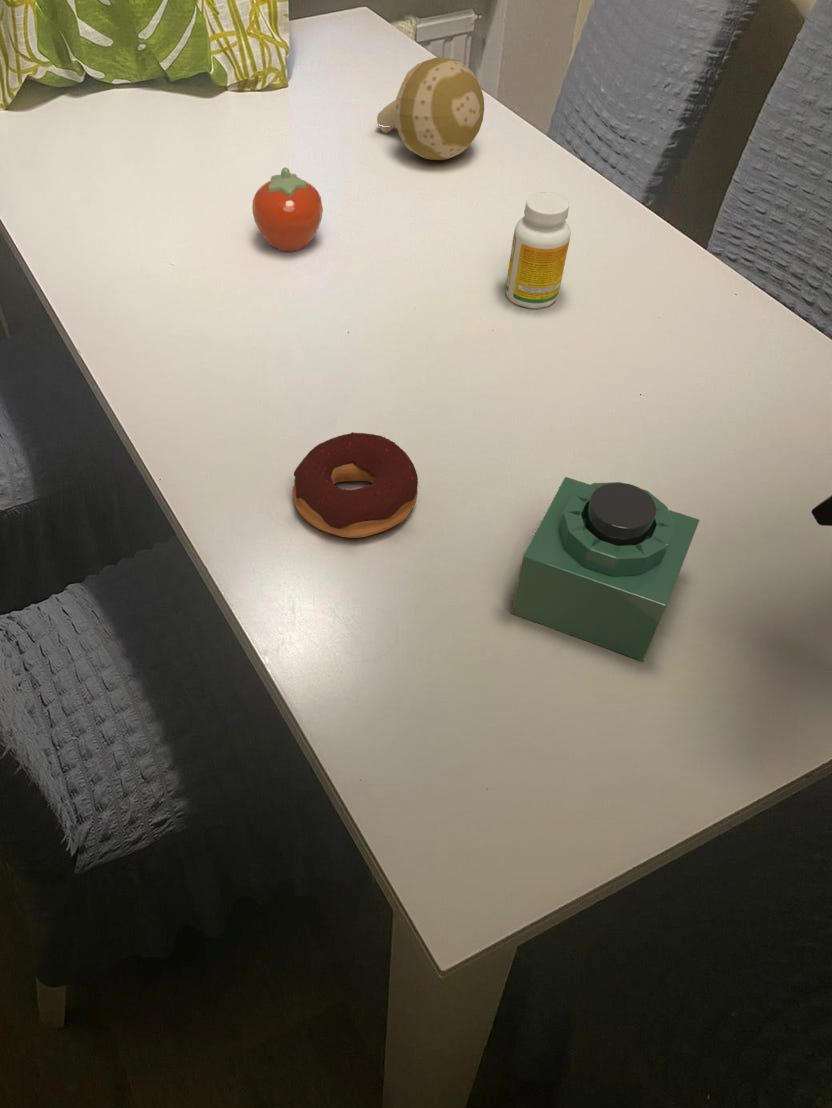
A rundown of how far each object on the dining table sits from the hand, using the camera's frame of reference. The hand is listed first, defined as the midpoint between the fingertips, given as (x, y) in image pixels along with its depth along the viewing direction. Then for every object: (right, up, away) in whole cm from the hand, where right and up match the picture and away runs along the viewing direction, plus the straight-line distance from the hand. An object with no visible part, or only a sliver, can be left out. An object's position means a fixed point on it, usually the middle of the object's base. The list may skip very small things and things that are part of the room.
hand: (817, 516), depth 56 cm
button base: (-10, -4, +13) cm, 17 cm away
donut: (-28, +4, +20) cm, 34 cm away
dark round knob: (-10, 0, +7) cm, 12 cm away
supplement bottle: (-10, +27, +38) cm, 48 cm away
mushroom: (-19, +53, +58) cm, 80 cm away
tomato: (-35, +35, +44) cm, 66 cm away
